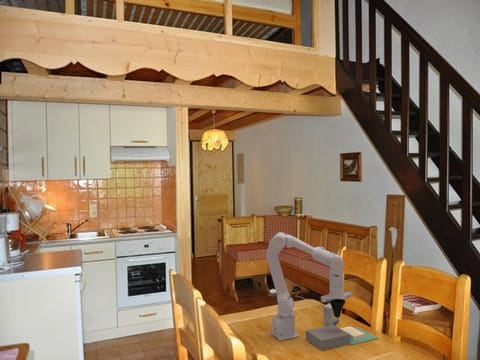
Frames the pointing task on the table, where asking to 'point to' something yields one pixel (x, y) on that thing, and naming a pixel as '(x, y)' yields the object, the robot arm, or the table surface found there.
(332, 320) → the medicine box
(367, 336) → the mat
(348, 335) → the block
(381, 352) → the table surface
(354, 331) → the white flat block
